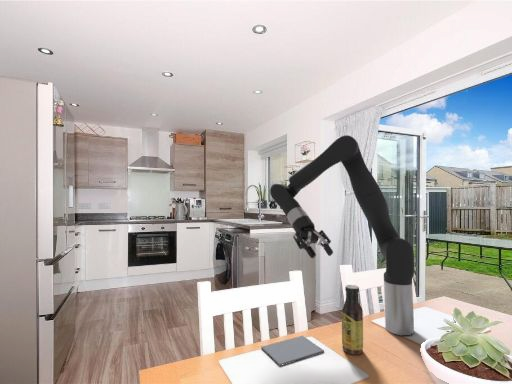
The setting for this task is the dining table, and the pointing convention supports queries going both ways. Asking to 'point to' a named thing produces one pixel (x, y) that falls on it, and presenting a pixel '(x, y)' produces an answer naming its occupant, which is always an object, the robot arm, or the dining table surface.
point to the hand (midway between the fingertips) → (322, 255)
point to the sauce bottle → (352, 322)
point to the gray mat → (292, 350)
